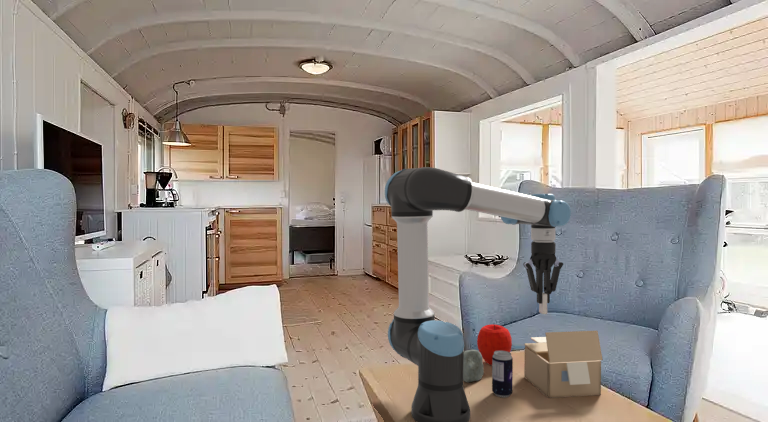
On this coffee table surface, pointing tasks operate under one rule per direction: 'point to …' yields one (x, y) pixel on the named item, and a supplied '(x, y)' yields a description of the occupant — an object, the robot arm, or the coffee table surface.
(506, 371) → the beverage can
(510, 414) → the coffee table surface
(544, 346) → the far flap
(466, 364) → the decorative stone
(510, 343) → the apple
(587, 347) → the near flap
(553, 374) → the carton
